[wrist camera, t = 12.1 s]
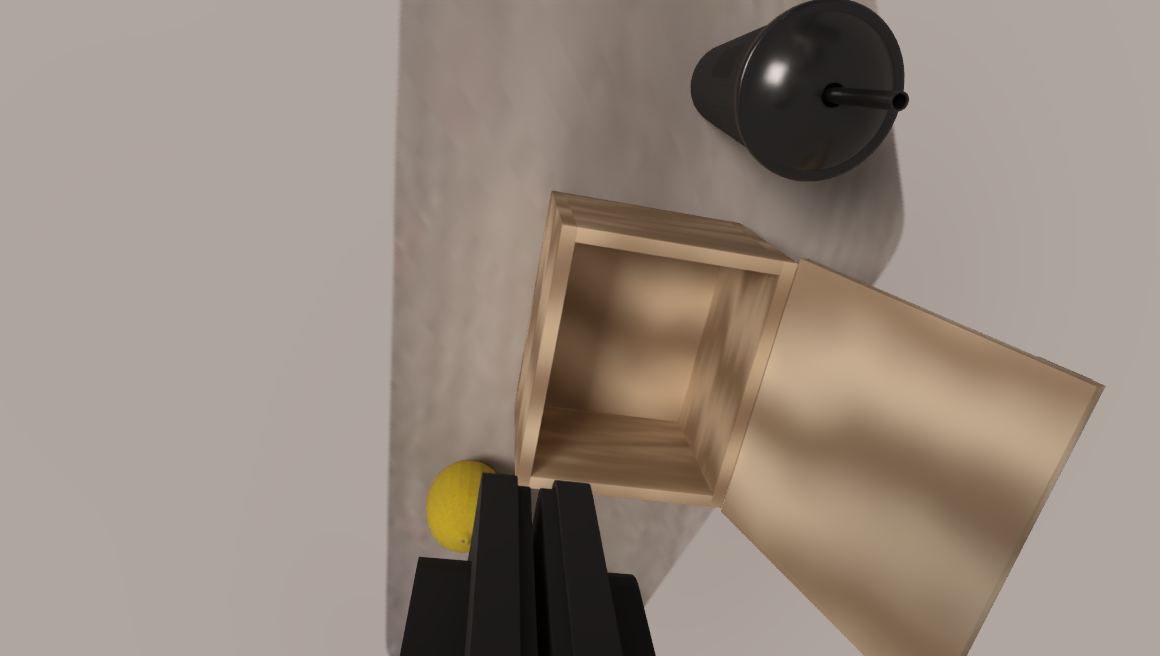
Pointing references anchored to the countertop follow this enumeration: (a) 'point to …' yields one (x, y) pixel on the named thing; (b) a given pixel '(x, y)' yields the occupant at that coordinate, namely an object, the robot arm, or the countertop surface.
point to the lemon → (455, 504)
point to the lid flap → (899, 462)
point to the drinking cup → (806, 88)
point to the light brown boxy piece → (644, 350)
